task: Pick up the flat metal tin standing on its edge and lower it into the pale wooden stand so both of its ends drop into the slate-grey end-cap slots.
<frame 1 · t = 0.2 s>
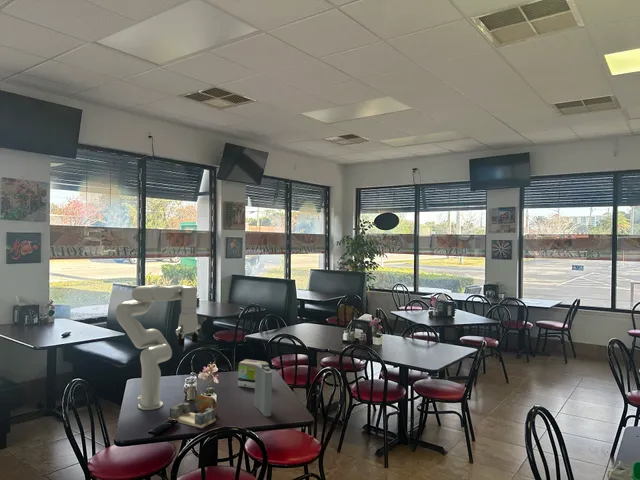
hand: (188, 344, 241), 36 cm above the table, tool pointing down, fingers open, 9 cm apart
retro computer: (252, 386, 291), on the table
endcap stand: (192, 420, 234), on the table
tin: (204, 412, 245), on the table
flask: (263, 410, 250), on the table
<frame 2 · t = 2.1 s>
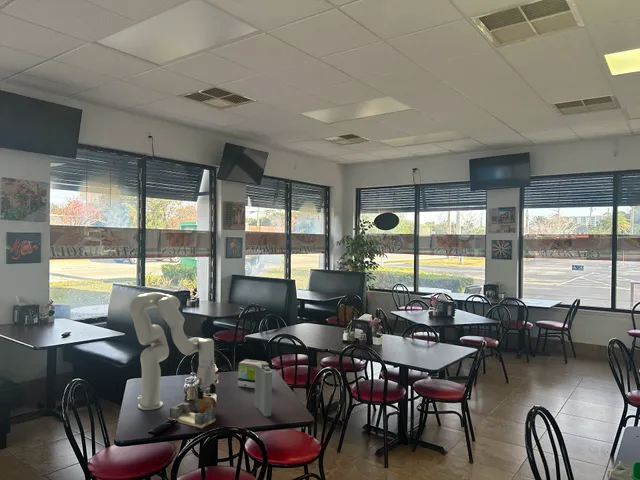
hand: (206, 395, 245), 8 cm above the table, tool pointing down, fingers open, 9 cm apart
nothing on the table moved.
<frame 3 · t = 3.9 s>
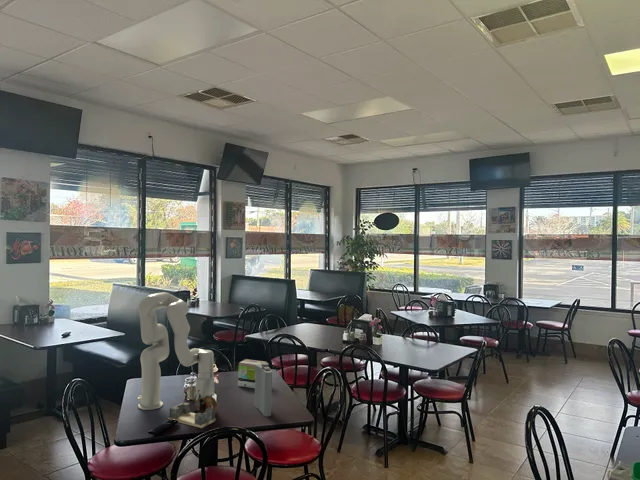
hand: (204, 409, 245), 1 cm above the table, tool pointing down, fingers closed on tin, 3 cm apart
tin: (205, 412, 246), on the table, touching gripper
everything else where it was.
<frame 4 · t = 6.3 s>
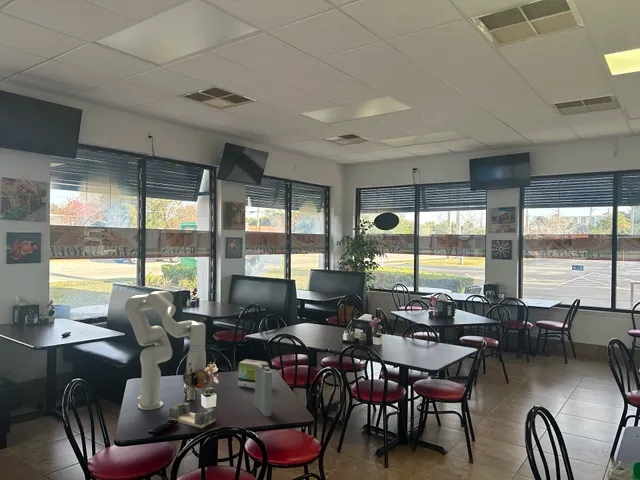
hand: (196, 383, 237), 17 cm above the table, tool pointing down, fingers closed on tin, 2 cm apart
tin: (196, 387, 237), point 15 cm above the table, touching gripper
everything else where it was.
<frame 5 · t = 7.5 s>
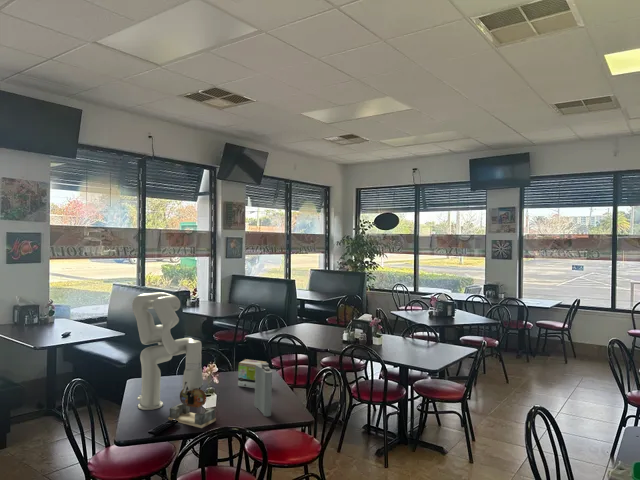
hand: (192, 402, 234), 9 cm above the table, tool pointing down, fingers closed on tin, 2 cm apart
tin: (193, 405, 234), point 7 cm above the table, touching gripper
everything else where it was.
when the fingers open (4 cm above the table, at t = 8.7 s): tin stays where it is, resting on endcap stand.
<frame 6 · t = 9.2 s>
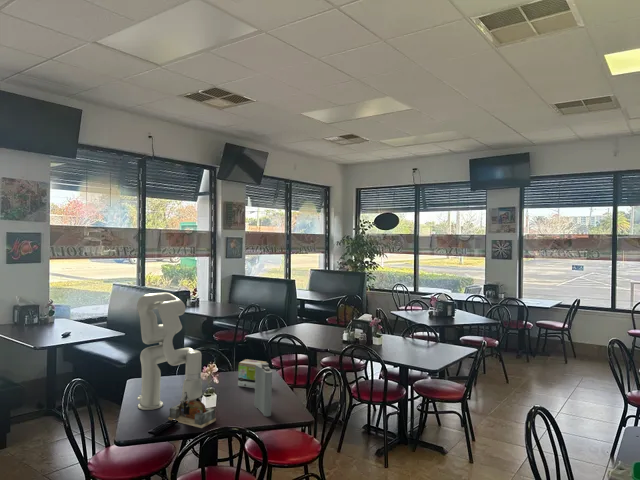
hand: (192, 411, 234), 4 cm above the table, tool pointing down, fingers open, 7 cm apart
tin: (192, 418, 234), point 1 cm above the table, touching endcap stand
everything else where it was.
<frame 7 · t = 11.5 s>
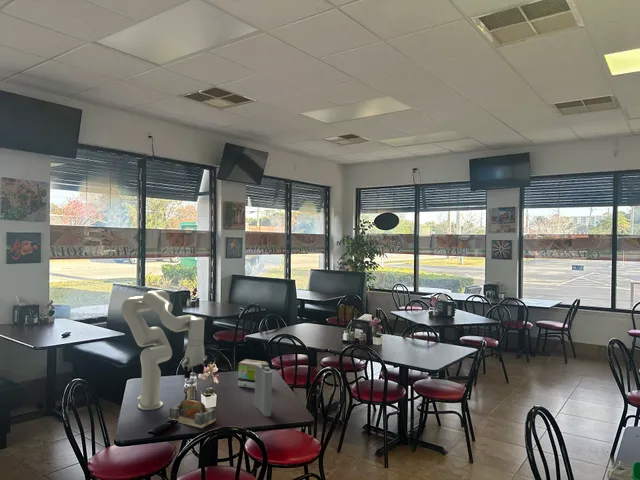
hand: (194, 375, 239), 21 cm above the table, tool pointing down, fingers open, 9 cm apart
nothing on the table moved.
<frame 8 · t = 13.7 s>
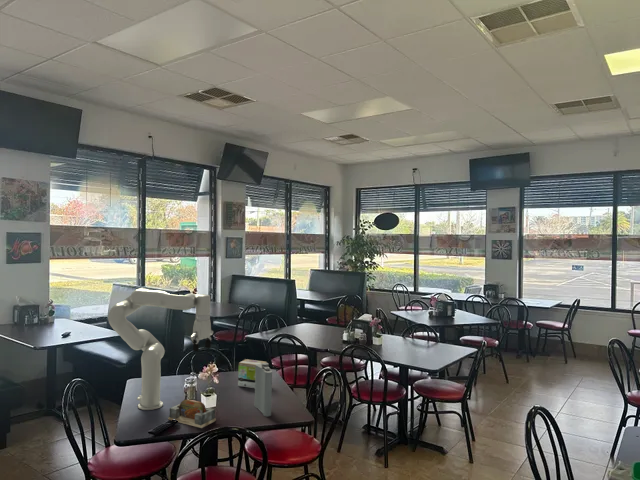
hand: (201, 349, 254), 30 cm above the table, tool pointing down, fingers open, 9 cm apart
nothing on the table moved.
at the end: tin 0.4 cm off-centre on the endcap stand, point 1.0 cm above the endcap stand's base; tin tilted 0°; the gripper is holding nothing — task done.
